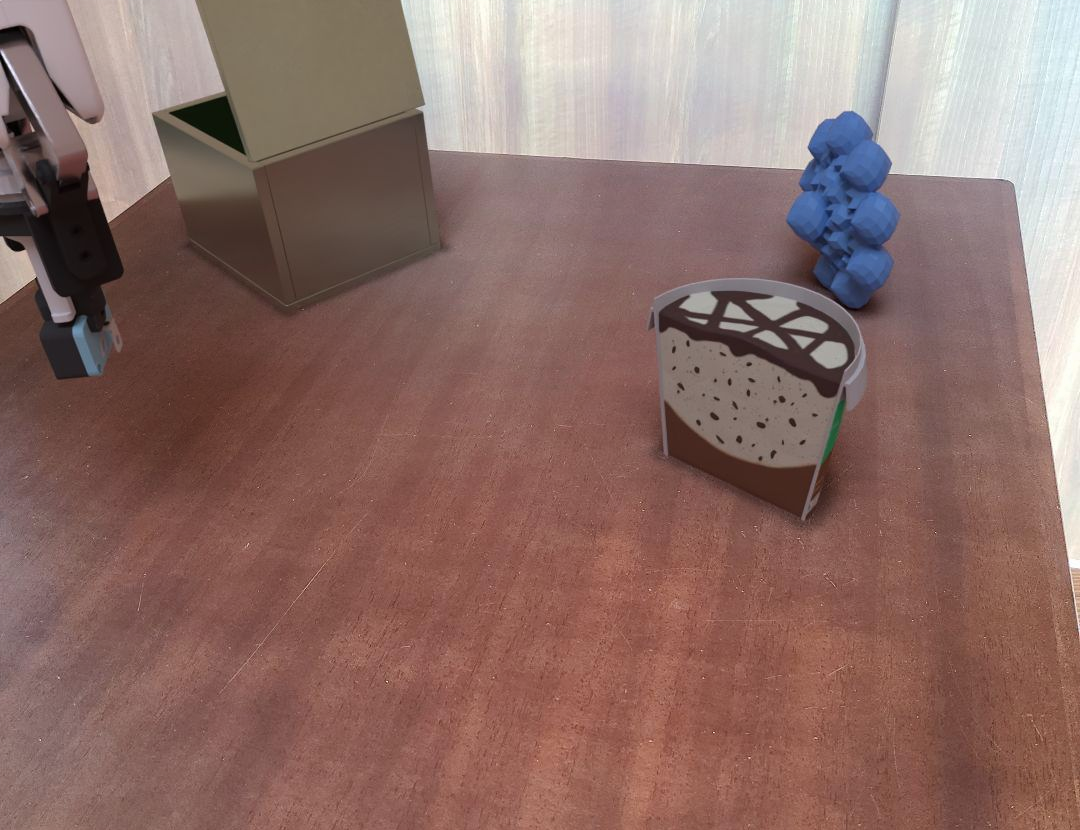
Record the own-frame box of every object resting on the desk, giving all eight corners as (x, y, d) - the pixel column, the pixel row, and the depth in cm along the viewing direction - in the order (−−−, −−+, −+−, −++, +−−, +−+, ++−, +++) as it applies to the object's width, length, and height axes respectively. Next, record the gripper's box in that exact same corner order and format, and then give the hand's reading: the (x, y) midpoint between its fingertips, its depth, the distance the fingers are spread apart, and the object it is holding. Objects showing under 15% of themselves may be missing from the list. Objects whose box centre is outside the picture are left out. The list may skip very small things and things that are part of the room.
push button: (56, 321, 55) (-20, 133, 49) (157, 311, 56) (95, 123, 49) (26, 389, 51) (-63, 190, 44) (136, 377, 51) (65, 179, 44)
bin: (192, 248, 84) (150, 112, 77) (336, 195, 91) (310, 65, 83) (288, 316, 75) (252, 169, 68) (442, 252, 81) (423, 111, 74)
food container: (887, 480, 57) (921, 320, 51) (828, 537, 54) (856, 375, 48) (706, 401, 64) (715, 251, 57) (643, 448, 61) (645, 295, 54)
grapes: (747, 263, 77) (761, 97, 69) (833, 250, 78) (856, 84, 70) (809, 341, 68) (832, 162, 60) (905, 325, 69) (940, 147, 61)
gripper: (83, -190, 34) (219, 300, 46) (-73, -226, 44) (73, 186, 56) (-160, -156, 31) (56, 364, 43) (-271, -203, 41) (-69, 230, 53)
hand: (64, 259), depth 49 cm, fingers closed on push button, 5 cm apart
